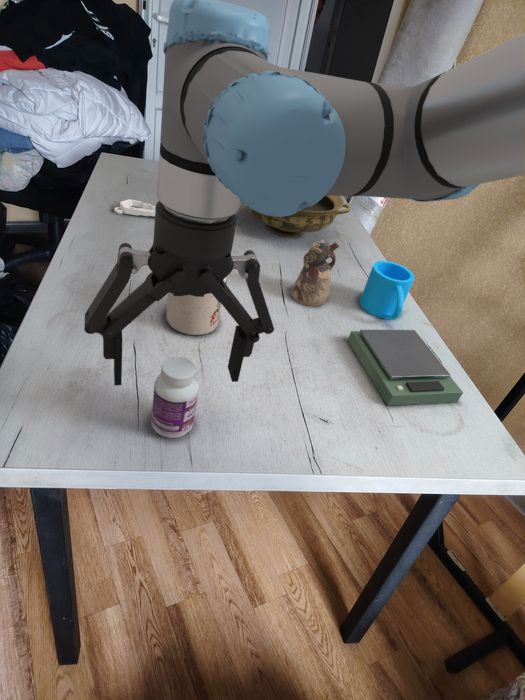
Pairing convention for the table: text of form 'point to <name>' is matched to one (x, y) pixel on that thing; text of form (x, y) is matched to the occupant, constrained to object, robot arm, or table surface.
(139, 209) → the white flat elongated piece
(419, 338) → the scale pan
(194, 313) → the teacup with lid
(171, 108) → the robot arm
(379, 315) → the mug
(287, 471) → the table surface
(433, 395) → the scale
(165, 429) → the pill bottle
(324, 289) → the figurine
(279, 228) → the ceramic bowl
